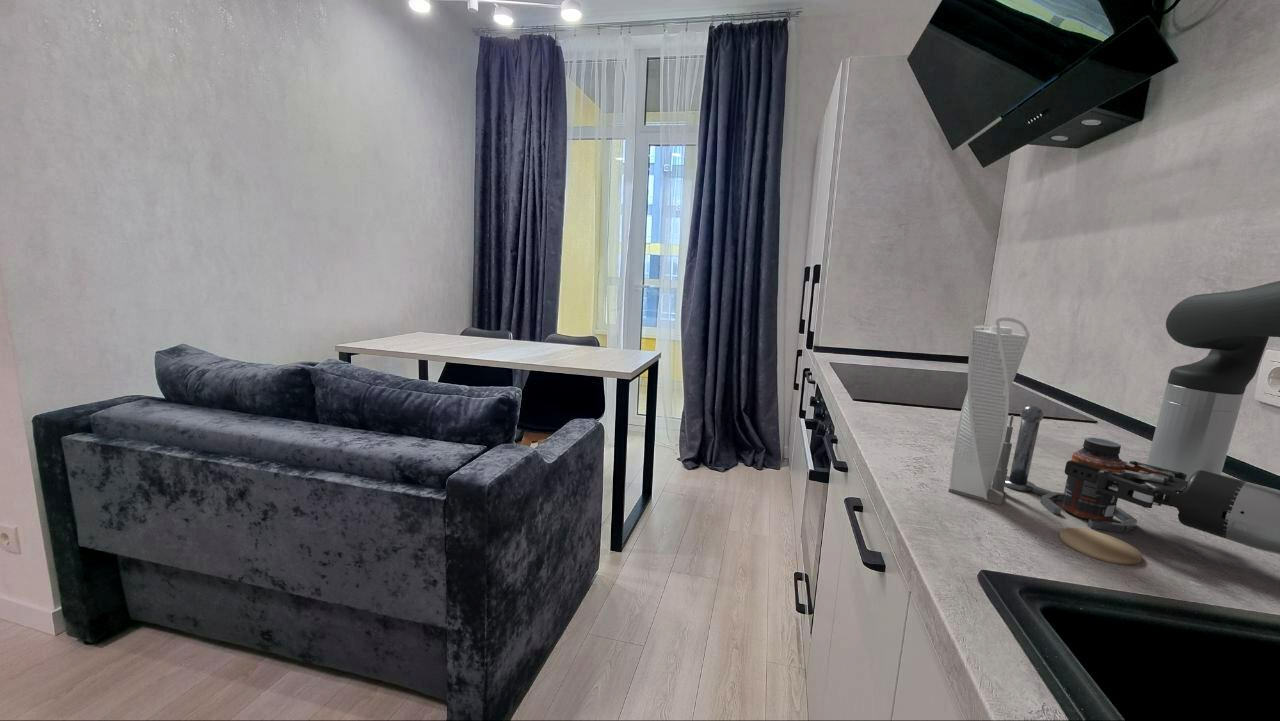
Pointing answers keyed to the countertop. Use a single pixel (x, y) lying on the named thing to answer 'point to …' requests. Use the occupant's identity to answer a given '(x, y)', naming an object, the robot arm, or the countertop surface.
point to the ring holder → (1019, 482)
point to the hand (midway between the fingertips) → (1076, 463)
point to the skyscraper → (987, 413)
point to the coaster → (1100, 546)
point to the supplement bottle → (1082, 493)
